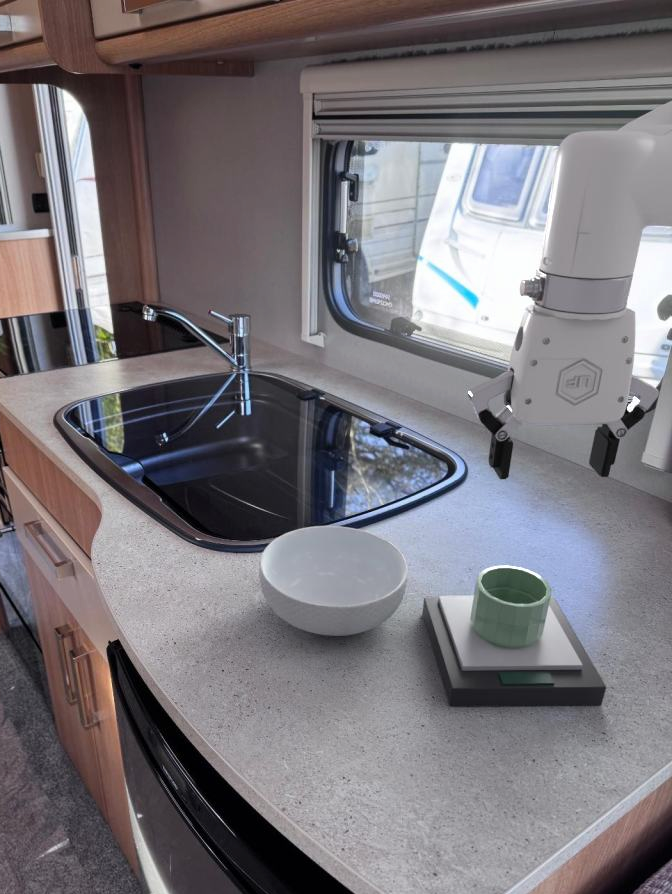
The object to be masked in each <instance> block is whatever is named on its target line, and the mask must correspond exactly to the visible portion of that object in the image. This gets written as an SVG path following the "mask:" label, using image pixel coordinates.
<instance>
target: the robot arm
mask: <svg viewBox="0 0 672 894" xmlns="http://www.w3.org/2000/svg"><path fill="white" fill-rule="evenodd" d="M545 220H546V221H545V225H544V234H543V240H542V245H541V247H542V248H541V252H540V253H541V254H540V260H539V267H538V269H536V271H535V275H534V277H533V278H530V279H523V280H521V281H520V285H519V294H520V296H521V297H528V298H531V300H532V301H533V304H528V305H526V307H525V310H524V312H523V315H522V318H521V320H520V323H519V326H518V328H517V332H516V336H515V339H514V342H513V345H512V349H511V354H510V358H509V361H508V362H509V363H508V365H507V371H506V372H503V373H502V374H499V375H497V376H495V377H493V378H491V379H488V380H486V381H485V382H482V383H481V384H479V385H477V386H475V387H473V388H471V389H469V391H468V393H467V396H468V399H469V401H470V403H471V406H472V408H473V410H474V412H475V416H476V417H477V419H478V420H479V421H480V422H481V424H482V425H483V426H484V428H486V429H487V430H488V431H489V432H490V434H491V438H490V443H489V444H490V445H489V453H488V465H489V467H490V468H491V469H493V471H494V472H495V473H496V476H497V477H498V478H499V480H507V479H508V478H509V476H510V469H511V462H512V456H513V455H512V454H513V451H514V450H513V449H514V442H513V440H512V438H511V435H513V434H514V433H515V432H516V431H517V430H518V429H519V428H520V427H521V426H522V425H526V426H533V427H534V426H535V427H549V426H550V427H551V426H552V427H553V426H555V427H557V426H561V427H562V426H595V425H596V426H597V425H601V426H597V428H596V429H595V430H594V431H595V432H594V435H593V441H592V445H591V450H590V455H589V460H588V464H589V466H590V467H591V468H592V469H593V470H594V472H595V473H596V474H597V475H598V476H600V477H601V478H608V477H609V476H610V472H611V467H612V466H613V465H614V464H615V462H616V458H617V453H618V450H619V445H620V441H621V439H624V438H626V436H627V435H628V434H629V430H630V429H631V428H632V427H634V426H635V425H636V424H638V423H639V422H640V421H642V420H643V419H644V417H645V415H646V411H647V410H649V409H650V408H651V407H652V405H653V404H654V402H655V401H656V400H657V399H658V397H659V396H660V390H659V389H658V388H656V387H655V386H653V385H652V384H650V383H648V382H646V381H644V380H642V378H638V376H635V375H634V374H633V369H634V364H635V363H634V361H635V351H636V350H635V349H636V327H637V326H636V312H635V310H632V309H631V308H628V307H627V306H628V302H629V298H630V297H629V296H630V291H631V286H632V282H633V279H634V278H633V277H634V272H635V268H636V263H637V259H638V254H639V249H640V244H641V239H642V235H643V230H644V229H646V228H648V227H660V228H661V227H663V228H670V229H672V100H670V101H668V102H666V103H664V104H662V105H660V106H658V107H656V108H654V109H652V110H651V111H649V112H647V113H645V114H643V115H640V116H639V117H636V118H635V119H633V120H631V121H630V122H627V123H626V124H624V125H623V126H621V128H619V129H618V130H617V129H616V130H583V131H577V132H573V133H570V134H569V135H567V136H566V137H565V138H563V140H562V141H561V142H560V144H559V146H558V149H557V150H556V155H555V161H554V167H553V171H552V180H551V186H550V194H549V201H548V207H547V213H546V219H545ZM630 392H631V393H634V396H633V398H632V399H631V402H629V397H630ZM502 394H503V403H504V404H503V405H504V407H502V408H501V409H500V410H499V411H498V412H497V413H496V414H494V413H493V412H492V411H491V409H490V406H489V402H490V400H492V399H494V398H495V397H497V396H499V395H502ZM628 402H629V403H628Z"/></svg>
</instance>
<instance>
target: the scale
mask: <svg viewBox="0 0 672 894" xmlns="http://www.w3.org/2000/svg"><path fill="white" fill-rule="evenodd" d="M473 598H474V594H472V595H438V597H423V606H422V618H423V622H424V624H425V627H426V631H427V635H428V638H429V642H430V644H431V648H432V651H433V654H434V659H435V662H436V666H437V668H438V672H439V675H440V679H441V681H442V685H443V689H444V692H445V695H446V698H447V699H446V700H447V702H448V705H449V707H450V708H451V707H452V708H457V707H459V708H461V707H467V708H468V707H554V706H555V707H557V706H559V707H563V706H565V707H567V706H569V707H570V706H571V707H572V706H579V707H580V706H602V704H603V701H604V697H605V694H606V690H607V686H606V683H605V682H604V680H603V679H602V677H601V675H600V673H599V671H598V670H597V668H596V666H595V665H594V663H593V661H592V660H591V658H590V656H589V654H588V652H587V651H586V649H585V648H584V646H583V644H582V642H581V641H580V638H579V637H578V636H577V634H576V632H575V630H574V628H573V627H572V625H571V624H570V621H569V620H568V618H567V617H566V615H565V613H564V611H563V610H562V608H561V607H560V605H559V603H558V601H557V600H556V598H555V596H551V598H550V603H549V607H548V612H547V616H546V621H545V626H544V630H543V635H542V636H541V637H540V638H539V639H538V640H537V641H536V642H534V643H533V644H531V645H529V646H527V647H523V648H506V647H501V646H497V645H494V644H492V643H490V642H488V641H486V640H485V639H483V638H482V637H481V636H480V635H479V634H478V633H477V632H476V631H475V629H474V627H473V625H472V622H471V620H470V617H471V611H472V604H473Z"/></svg>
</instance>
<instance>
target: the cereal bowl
mask: <svg viewBox="0 0 672 894" xmlns="http://www.w3.org/2000/svg"><path fill="white" fill-rule="evenodd" d="M258 571H259V575H258V577H259V582H260V589H261V593H262V595H263V598H264V599H265V601H266V603H267V605H268V606H269V607H270V609H271V610H272V611H273V612H274V613H275V614H276V615H277V616H278V617H279V618H280V619H282V620H283V621H284V622H286V623H288V624H289V625H291V626H293V627H295V628H297V629H299V630H302V631H305V632H308V633H311V634H312V633H313V634H316V635H323V636H328V637H329V636H332V637H334V636H335V637H337V636H338V637H340V636H343V637H345V636H351V635H358V634H360V633H364V632H367V631H370V630H372V629H375V628H376V627H378V626H380V625H382V624H383V623H384V622H387V620H388V619H390V618H391V617H392V615H394V614H395V612H396V611H397V610H398V609H399V607H400V605H401V604H402V601H403V600H404V596H405V594H406V590H407V587H408V584H407V583H408V578H409V566H408V562H407V560H406V558H405V556H404V555H403V553H402V552H401V550H400V549H399V548H398V547H397V546H396V545H395V544H393V543H392V542H390V540H387V539H385V538H383V537H382V536H379V535H377V534H375V533H373V532H370V531H365V530H362V529H359V528H354V527H346V526H337V525H315V526H309V527H302V528H298V529H294V530H291V531H289V532H285V533H284V534H282V535H280V536H278V537H276V538H275V539H273V540H272V541H271V542H270V543H269V544H268V545H267V546H266V547H265V548H264V550H263V551H262V553H261V555H260V558H259V567H258Z"/></svg>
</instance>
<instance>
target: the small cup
mask: <svg viewBox="0 0 672 894" xmlns="http://www.w3.org/2000/svg"><path fill="white" fill-rule="evenodd" d="M473 595H474V598H473V604H472V611H471V617H470V620H471V622H472V625H473V627H474V629H475V631H476V632H477V633H478V634H479V635H480V636H481V637H482V638H483V639H485V640H486V641H488V642H490V643H492V644H494V645H497V646H501V647H506V648H523V647H527V646H529V645H531V644H533V643H534V642H536V641H537V640H538V639H539V638H540V637H541V636H542V635H543V630H544V626H545V621H546V616H547V612H548V607H549V603H550V598H551V597H552V587H551V585H550V583H549V582H548V581H547V579H545V578H544V577H542V576H541V575H540V574H539V573H536V572H534V571H531V570H530V569H527V568H524V567H518V566H514V565H494V566H491V567H487V568H484V569H483V570H482V571H481V572H479V573H478V574H477V576H476V580H475V585H474V593H473Z"/></svg>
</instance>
